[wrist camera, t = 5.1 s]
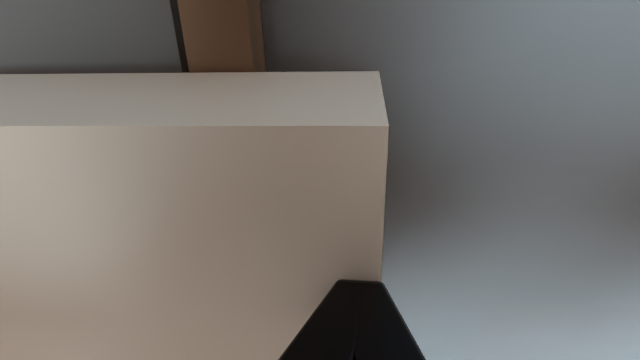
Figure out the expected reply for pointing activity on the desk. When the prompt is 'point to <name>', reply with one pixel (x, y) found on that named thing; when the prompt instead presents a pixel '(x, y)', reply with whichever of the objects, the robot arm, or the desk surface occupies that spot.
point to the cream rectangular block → (183, 209)
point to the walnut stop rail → (222, 35)
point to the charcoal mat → (91, 37)
